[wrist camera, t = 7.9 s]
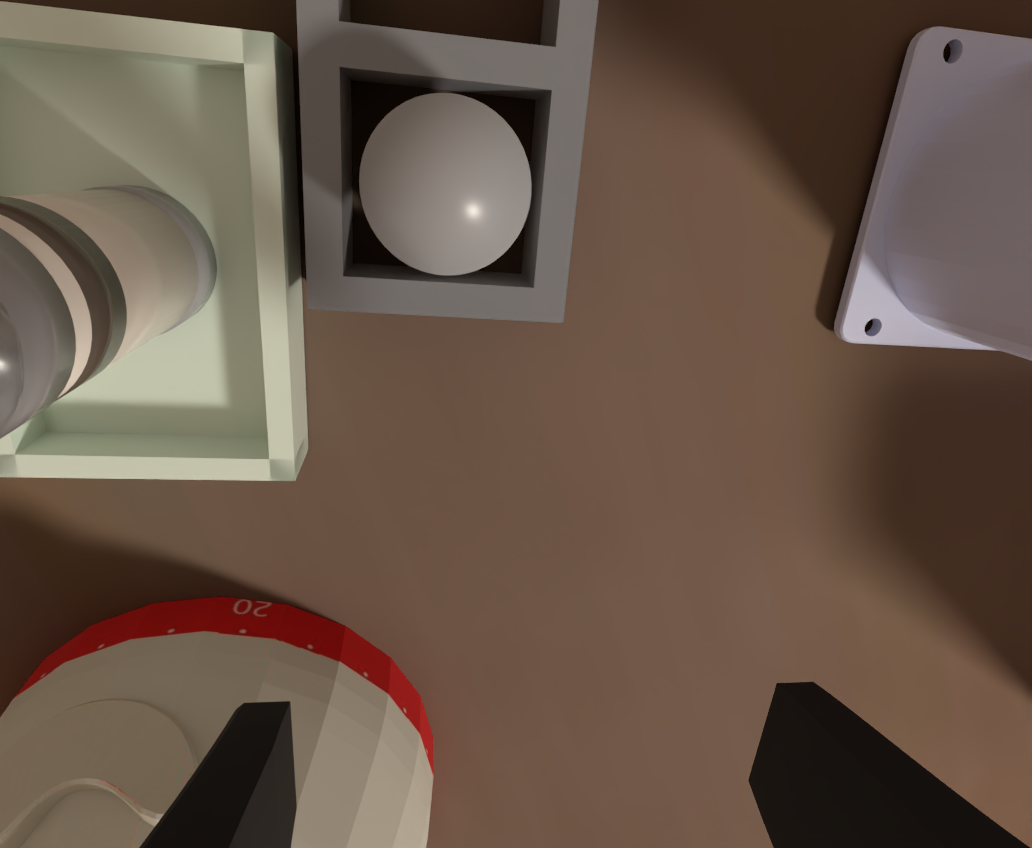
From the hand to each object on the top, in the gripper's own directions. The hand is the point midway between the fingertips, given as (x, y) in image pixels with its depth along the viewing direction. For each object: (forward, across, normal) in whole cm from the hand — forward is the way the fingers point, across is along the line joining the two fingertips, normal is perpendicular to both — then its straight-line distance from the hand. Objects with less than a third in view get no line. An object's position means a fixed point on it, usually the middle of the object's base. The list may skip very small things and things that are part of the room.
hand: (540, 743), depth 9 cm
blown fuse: (+10, +8, -5) cm, 14 cm away
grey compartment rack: (+10, +2, -10) cm, 15 cm away
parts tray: (+10, +8, -5) cm, 14 cm away
